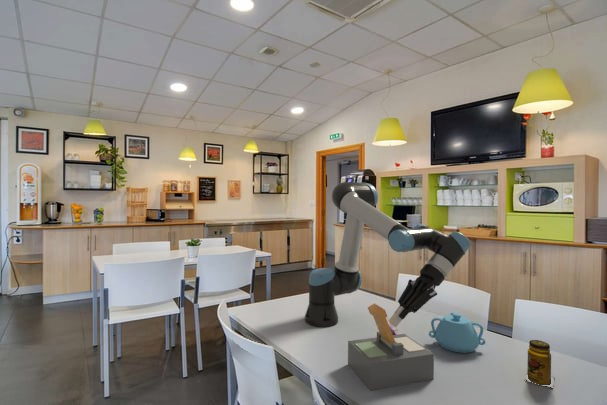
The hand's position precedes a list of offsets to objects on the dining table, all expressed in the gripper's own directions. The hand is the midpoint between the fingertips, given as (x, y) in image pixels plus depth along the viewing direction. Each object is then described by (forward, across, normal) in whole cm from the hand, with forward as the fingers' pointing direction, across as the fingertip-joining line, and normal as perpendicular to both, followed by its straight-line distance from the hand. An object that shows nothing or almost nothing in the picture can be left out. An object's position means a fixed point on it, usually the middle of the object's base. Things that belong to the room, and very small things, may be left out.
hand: (392, 324), depth 109 cm
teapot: (-14, +11, -36) cm, 40 cm away
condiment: (-19, -17, -41) cm, 48 cm away
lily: (+3, +19, -20) cm, 27 cm away
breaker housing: (+12, 0, -10) cm, 16 cm away
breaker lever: (+5, 0, -5) cm, 7 cm away
